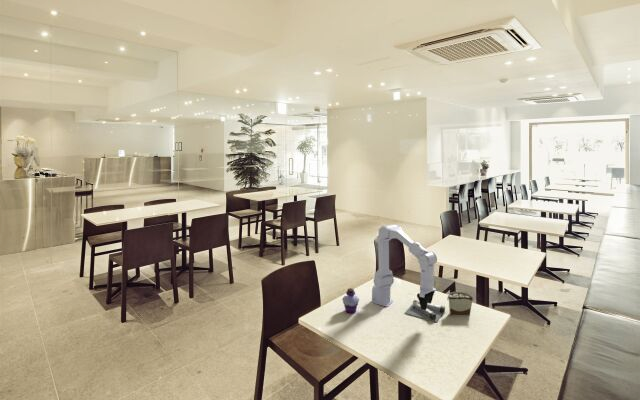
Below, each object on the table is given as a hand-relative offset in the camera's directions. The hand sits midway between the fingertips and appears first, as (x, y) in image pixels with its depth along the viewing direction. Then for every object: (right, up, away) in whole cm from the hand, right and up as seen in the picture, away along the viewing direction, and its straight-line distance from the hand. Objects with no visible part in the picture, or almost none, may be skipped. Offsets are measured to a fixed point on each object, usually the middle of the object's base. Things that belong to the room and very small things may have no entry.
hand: (426, 306), depth 154 cm
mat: (+3, -7, +13) cm, 15 cm away
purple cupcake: (-34, -8, +16) cm, 38 cm away
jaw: (+2, -7, +12) cm, 14 cm away
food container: (+20, -7, +12) cm, 25 cm away
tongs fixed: (+7, -6, +16) cm, 18 cm away
